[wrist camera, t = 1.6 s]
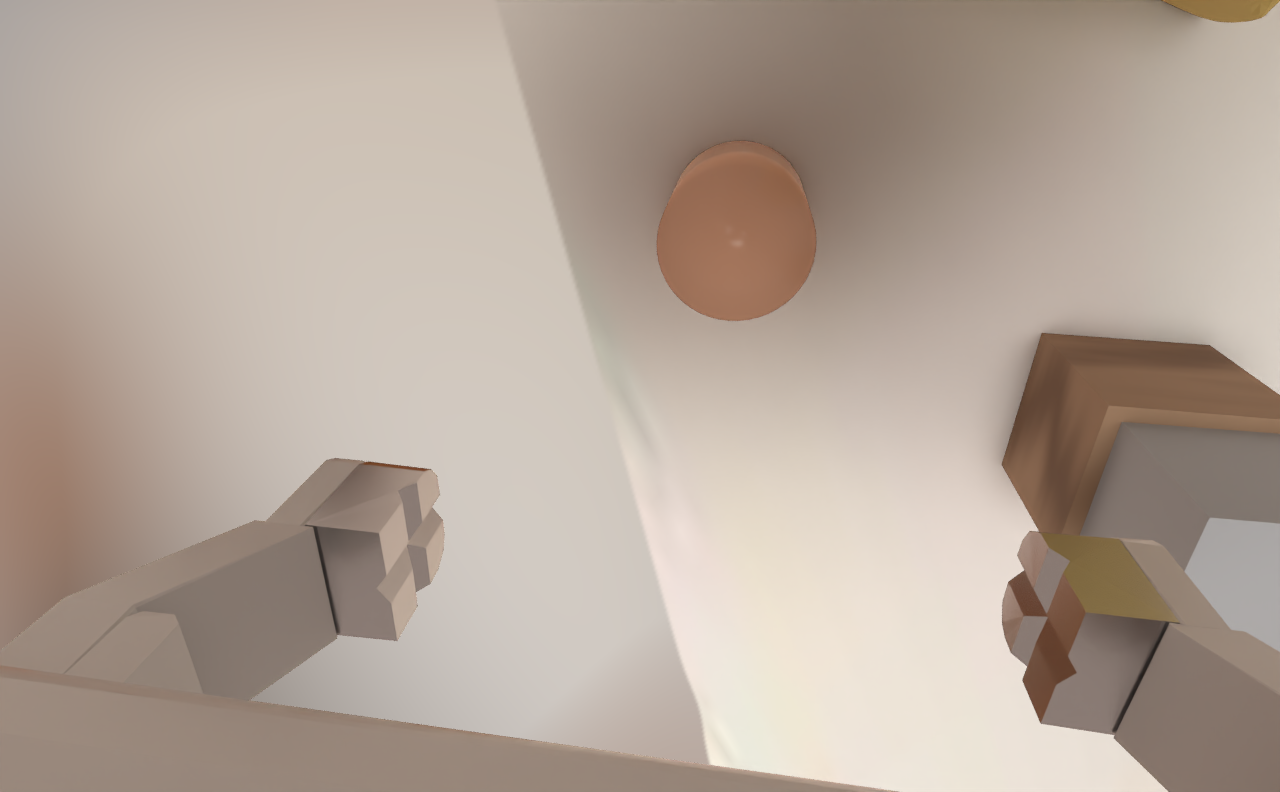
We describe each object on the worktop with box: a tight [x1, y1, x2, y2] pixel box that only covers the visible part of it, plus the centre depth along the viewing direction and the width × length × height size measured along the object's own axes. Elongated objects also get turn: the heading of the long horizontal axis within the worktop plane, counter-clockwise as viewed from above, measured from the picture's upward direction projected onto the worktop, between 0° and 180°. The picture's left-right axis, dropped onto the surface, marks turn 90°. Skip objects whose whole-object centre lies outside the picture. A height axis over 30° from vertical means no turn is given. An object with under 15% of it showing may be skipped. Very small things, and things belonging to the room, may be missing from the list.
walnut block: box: [1002, 333, 1280, 535], centre depth 26 cm, size 6×6×6 cm
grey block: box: [1080, 422, 1280, 652], centre depth 22 cm, size 5×5×5 cm
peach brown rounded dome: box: [657, 141, 816, 321], centre depth 25 cm, size 5×5×5 cm
